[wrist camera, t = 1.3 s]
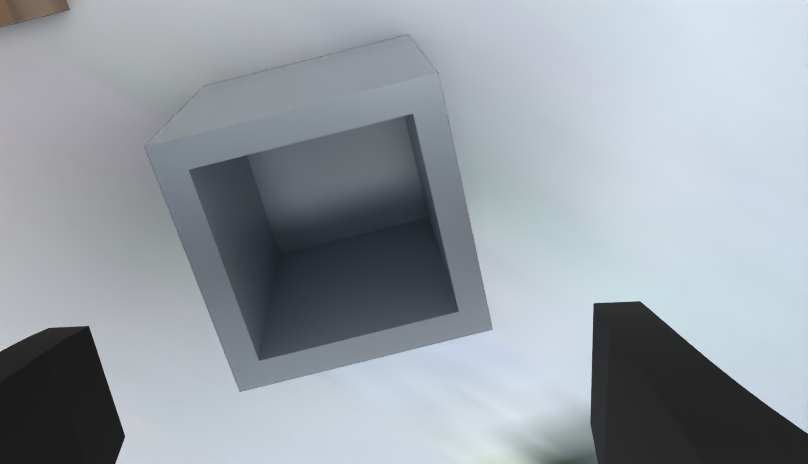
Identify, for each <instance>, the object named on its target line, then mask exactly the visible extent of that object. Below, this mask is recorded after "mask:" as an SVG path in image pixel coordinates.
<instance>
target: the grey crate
mask: <svg viewBox="0 0 808 464" xmlns="http://www.w3.org/2000/svg"><path fill="white" fill-rule="evenodd" d="M144 147H145V150H146V152H147V155H148V157H149V160H150V163H151V165H152V168H153V170H154V173H155V175H156V178H157V181H158V183H159V186H160V188H161V191H162V193H163V196H164V198H165V201H166V204H167V206H168V209H169V211H170V214H171V216H172V219H173V222H174V224H175V227H176V229H177V232H178V234H179V237H180V240H181V242H182V245H183V247H184V250H185V252H186V255H187V258H188V260H189V263H190V265H191V268H192V270H193V273H194V275H195V278H196V281H197V283H198V286H199V288H200V291H201V293H202V296H203V299H204V301H205V304H206V306H207V309H208V311H209V314H210V317H211V319H212V322H213V324H214V327H215V329H216V332H217V335H218V337H219V340H220V342H221V345H222V347H223V350H224V353H225V355H226V358H227V360H228V363H229V365H230V368H231V370H232V373H233V376H234V378H235V381H236V383H237V386H238V388H239V391H240V392H241V391H245V390H249V389H253V388H257V387H261V386H266V385H270V384H274V383H278V382H282V381H286V380H290V379H294V378H298V377H302V376H306V375H310V374H314V373H318V372H322V371H326V370H330V369H334V368H339V367H343V366H347V365H351V364H355V363H359V362H363V361H367V360H371V359H375V358H379V357H383V356H387V355H391V354H395V353H399V352H403V351H407V350H412V349H416V348H420V347H424V346H428V345H432V344H436V343H440V342H444V341H448V340H452V339H456V338H460V337H464V336H468V335H472V334H476V333H480V332H485V331H489V330H493V328H492V323H491V319H490V314H489V309H488V305H487V300H486V295H485V290H484V286H483V281H482V276H481V272H480V267H479V262H478V257H477V253H476V248H475V243H474V239H473V234H472V229H471V224H470V220H469V215H468V210H467V205H466V201H465V196H464V191H463V187H462V182H461V177H460V172H459V168H458V163H457V158H456V154H455V149H454V144H453V139H452V135H451V130H450V125H449V121H448V116H447V111H446V106H445V102H444V97H443V92H442V88H441V83H440V78H439V73H438V72H437V70H436V69H435V68H434V67H433V65H432V64H431V63H430V61H429V60H428V59H427V57H426V56H425V55H424V54H423V52H422V51H421V50H420V48H419V47H418V46H417V44H416V43H415V42H414V41H413V39H412V38H411V37H410V35H409V34H408V35H404V36H400V37H396V38H392V39H388V40H384V41H380V42H376V43H372V44H368V45H364V46H360V47H356V48H352V49H348V50H344V51H340V52H336V53H332V54H328V55H324V56H320V57H316V58H312V59H308V60H304V61H301V62H297V63H293V64H289V65H285V66H281V67H277V68H273V69H269V70H265V71H261V72H257V73H253V74H249V75H245V76H241V77H237V78H233V79H229V80H225V81H221V82H217V83H213V84H209V85H205V86H203V87H202V88H201V89H200V90H199V91H198V92H197V93H196V94H195V95H194V96H193V97H192V98H191V99H190V100H189V101H188V102H187V103H186V105H185V106H184V107H183V108H182V109H181V110H180V111H179V112H178V113H177V114H176V115H175V116H174V117H173V118H172V119H171V120H170V121H169V122H168V123H167V124H166V125H165V126H164V127H163V128H162V129H161V130H160V131H159V132H158V133H157V134H156V135H155V136H154V137H153V138H152V139H151V140H150V141H149V142H148V143H147V144H146V145H145V146H144Z"/></svg>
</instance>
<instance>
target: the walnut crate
mask: <svg viewBox="0 0 808 464" xmlns="http://www.w3.org/2000/svg"><path fill="white" fill-rule="evenodd" d="M67 10H70V9H69V6H68V4H67V1H66V0H0V28H1V27H4V26H8V25H12V24H16V23H20V22H24V21H28V20H32V19H36V18H40V17H44V16H48V15H51V14H55V13H59V12H63V11H67Z"/></svg>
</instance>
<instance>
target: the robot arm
mask: <svg viewBox="0 0 808 464" xmlns="http://www.w3.org/2000/svg"><path fill="white" fill-rule="evenodd" d="M591 428H592V433H593V439H594V444H595V450H596V455H597V460H598V464H808V434H807V433H806V432H804V431H803V430H802V429H800V428H799V427H797V426H796V425H794V424H793V423H792V422H790V421H789V420H787V419H786V418H785V417H783V416H782V415H780V414H779V413H777V412H776V411H775V410H773V409H772V408H770V407H769V406H768V405H766V404H765V403H764V402H762V401H761V400H760V399H758V398H757V397H756V396H754V395H753V394H752V393H750V392H749V391H748V390H746V389H745V388H744V387H742V386H741V385H740V384H739V383H737V382H736V381H735V380H733V379H732V378H731V377H730V376H728V375H727V374H726V373H725V372H723V371H722V370H721V369H720V368H718V367H717V366H716V365H715V364H713V363H712V362H711V361H710V360H709V359H707V358H706V357H705V356H704V355H702V354H701V353H700V352H699V351H698V350H696V349H695V348H694V347H693V346H692V345H691V344H689V343H688V342H687V341H686V340H685V339H683V338H682V337H681V336H680V335H679V334H678V333H676V332H675V331H674V330H673V329H672V328H671V327H669V326H668V325H667V324H666V323H665V322H664V321H663V320H661V319H660V318H659V317H658V316H657V315H656V314H654V313H653V312H652V311H651V310H650V309H649V308H647V307H646V306H645V305H644V304H643V303H641V302H640V301H637V302H615V303H594V312H593V349H592V387H591ZM124 438H125V435H124V432H123V429H122V426H121V423H120V420H119V416H118V413H117V410H116V407H115V404H114V401H113V398H112V395H111V392H110V389H109V386H108V383H107V380H106V377H105V374H104V371H103V368H102V365H101V362H100V359H99V356H98V353H97V349H96V346H95V343H94V340H93V337H92V334H91V331H90V328H89V326H82V327H59V328H48V329H46V330H43V331H41V332H39V333H36V334H34V335H32V336H30V337H28V338H26V339H24V340H22V341H20V342H18V343H16V344H14V345H12V346H10V347H8V348H6V349H4V350H3V351H1V352H0V464H115V463H116V460H117V457H118V455H119V452H120V449H121V447H122V444H123V441H124Z"/></svg>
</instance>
